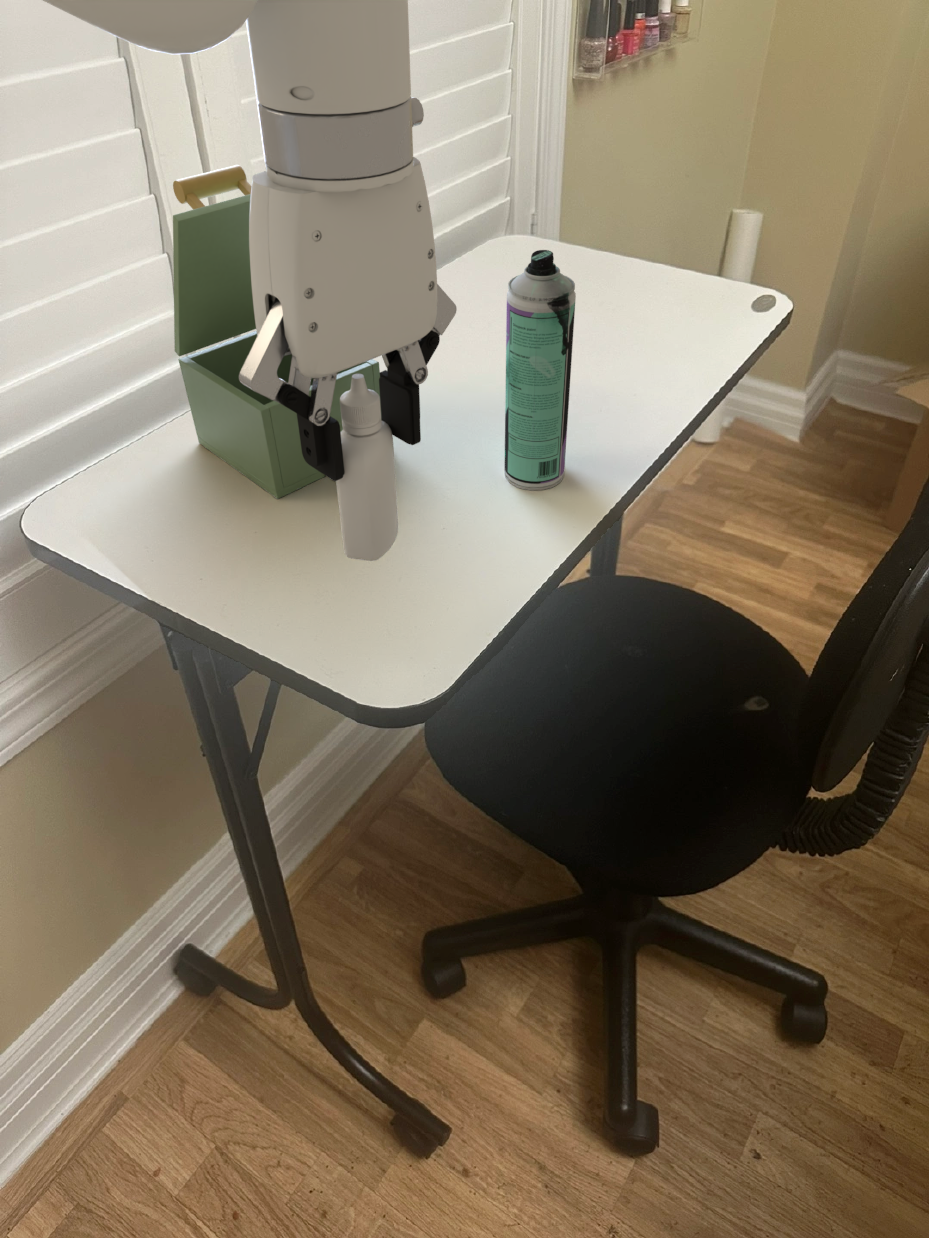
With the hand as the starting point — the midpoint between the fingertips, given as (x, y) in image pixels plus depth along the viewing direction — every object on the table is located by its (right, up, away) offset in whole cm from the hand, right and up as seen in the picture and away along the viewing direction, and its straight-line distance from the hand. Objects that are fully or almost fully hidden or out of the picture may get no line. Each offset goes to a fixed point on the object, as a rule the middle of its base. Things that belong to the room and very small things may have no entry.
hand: (364, 450), depth 57 cm
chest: (-10, +6, +30) cm, 33 cm away
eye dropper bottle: (0, -5, +5) cm, 7 cm away
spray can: (+13, +2, +26) cm, 29 cm away
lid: (-13, +20, +22) cm, 32 cm away
